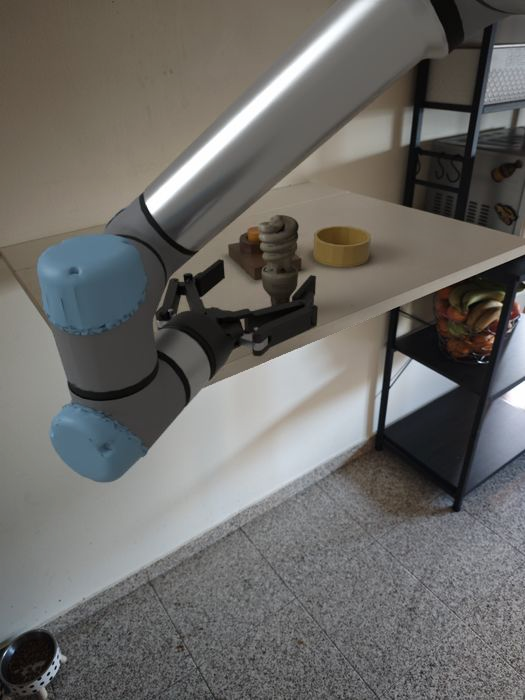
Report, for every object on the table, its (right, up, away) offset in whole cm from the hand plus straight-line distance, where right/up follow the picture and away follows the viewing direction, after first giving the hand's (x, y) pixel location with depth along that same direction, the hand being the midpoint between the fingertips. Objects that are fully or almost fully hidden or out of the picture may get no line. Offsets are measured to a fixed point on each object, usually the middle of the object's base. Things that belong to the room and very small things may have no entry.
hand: (265, 276), depth 68 cm
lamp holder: (+14, +8, +25) cm, 30 cm away
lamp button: (-1, +10, +23) cm, 25 cm away
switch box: (0, +6, +23) cm, 24 cm away
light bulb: (+2, -5, +8) cm, 9 cm away
